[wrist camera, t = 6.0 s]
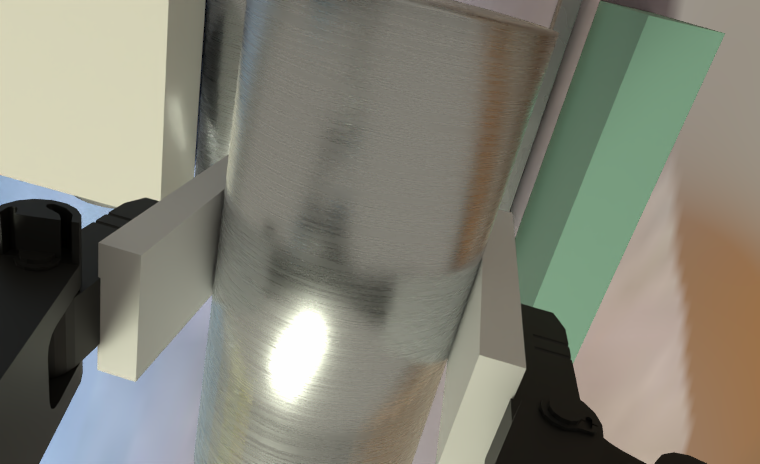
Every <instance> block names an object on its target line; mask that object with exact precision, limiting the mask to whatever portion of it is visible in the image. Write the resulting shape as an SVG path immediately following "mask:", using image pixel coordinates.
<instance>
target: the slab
mask: <svg viewBox="0 0 760 464" xmlns="http://www.w3.org/2000/svg"><path fill="white" fill-rule="evenodd" d="M205 3H206V0H0V175H2V176H6V177H10V178H13V179H17V180H20V181H24V182H28V183H31V184H35V185H39V186H42V187H46V188H49V189H53V190H57V191H60V192H64V193H67V194H71V195H75V196H78V197H82V198H85V199H89V200H93V201H96V202H100V203H103V204H107V205H111V206H114V207H118V206H120V205H122V204H123V203H126V202H130V201H134V200H138V199H141V198H145V197H146V198H150V199H153V200H157V201H160V200H162V199H163V198H165V197H166V196H168V195H169V194H171V193H172V192H174V191H175V190H177V189H178V188H180V187H181V186H183V185H184V184H185V183H187V182H188V181H190V180H191V179H193V178H194V165H195V150H196V135H197V121H198V106H199V91H200V77H201V62H202V47H203V32H204V18H205Z"/></svg>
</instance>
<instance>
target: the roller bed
mask: <svg viewBox="0 0 760 464" xmlns="http://www.w3.org/2000/svg"><path fill="white" fill-rule="evenodd" d="M246 1H247V0H207V12H206V27H205V41H204V56H203V70H202V85H201V99H200V114H199V128H198V143H197V157H196V172H195V177H196V176H197V175H199V174H200V173H202V172H203V171H205V170H206V169H208V168H209V167H210V166H212V165H213V164H215V163H216V162H218V161H219V160H221V159H222V158H224V157H225V156H227V155H228V154H229V148H230V139H231V131H232V122H233V113H234V105H235V96H236V87H237V79H238V70H239V61H240V53H241V44H242V35H243V27H244V18H245V10H246ZM74 196H75V195H74ZM75 197H77V198H79V199H81V200H83V201H85V202H88V203H91V204H94V205H98V206H102V207H107V208H114V209H115V208H117V207H114V206H111V205H107V204H103V203H100V202H96V201H93V200H89V199H85V198H82V197H78V196H75Z"/></svg>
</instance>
